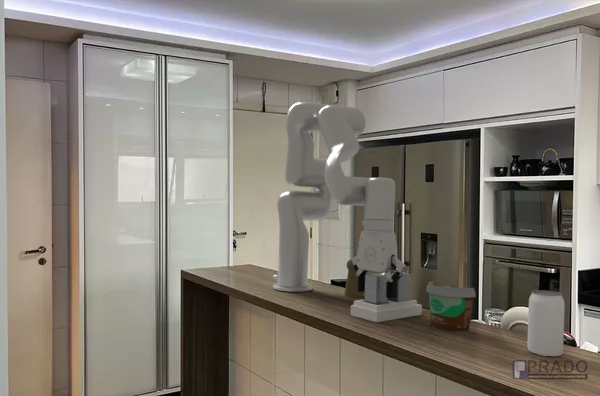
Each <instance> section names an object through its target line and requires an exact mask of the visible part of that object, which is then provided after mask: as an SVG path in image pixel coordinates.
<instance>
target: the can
mask: <svg viewBox="0 0 600 396" xmlns="http://www.w3.org/2000/svg"><path fill="white" fill-rule="evenodd" d="M527 315H528V317H527V320H528V322H527V343H526V344H527V351H528V352H529V353H530V354H533V353H535V354H540V355H546V356H559V357H561V356H562V355H563V354H564V333H565V331H564V330H565V300H564V298H563V294H562V293H561V292H558V291H553V290H543V289H542V290H540V289H539V290H537V289H535V290H531V294H530V296H529V298H528V314H527ZM535 354H534V355H535ZM560 355H561V356H560Z"/></svg>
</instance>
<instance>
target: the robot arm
mask: <svg viewBox="0 0 600 396" xmlns="http://www.w3.org/2000/svg"><path fill="white" fill-rule="evenodd" d="M285 120H286V121H285V123H286V124H285V125H286V128H285V129H286V133H287V135H286V136H287V149H286V150H287V151H286V161H285V175H284V177H285V180H286V181H285V182H286V183H287V185H289V186H292V187H299V188H312V190H311V191H309V190H307V191H305V190H288V191H285V192H282V193H281V194H280V195H279V196H278V198H277V205H276V206H277V212H278V213H277V214H278V219H279V221H278V222H279V236H278V237H279V241H278V242H279V245H278V267H277V268H278V271H277V272H278V273H276V274H274V275H273V277H272V278H273V279H274V280H276V283H273V285H272V289H274V290H276V291H281V292H290V293H291V292H292V293H293V292H294V293H298V292H300V293H301V292H303V293H304V292H308V291H311V290H312V289H313V285H311V284H309V283H308V279H309V277H308V276H309V275H308V273H309V249H310V248H309V247H310V246H309V245H310V235H309V230H308V228H307V226H306V225H305V223H304V221H323V220H325V219H326V218H328V215H329V213H330V210H331V202H332V200H333V201H334V202H335V203H336V204H338V205H341V206H358V207H359V206H360V207H364V213H363V214H364V215H363V221H362V226H363V230H362V231H361V232H360V236H359V240H358V247H357V254H356V255H355V256H353V257H352V258H351V260H352V262H353V265H354V269H355V271H356V275H357V276H358V292H364V293H365V274H369V272H372V273H375V274H376V273H377V274H384V275H386V277H387V279H388V280H389V281H388V282H387V283H386V298H395V297H396V296H397V281H399V280H400V278H401V277H402V276H403V273H405V270H406V268H407V266H406V264H405V263H404V262H402V261H401V260H400V258H398V243H397V237H396V232H394V231H395V210H396V209H395V208H396V205H395V204H396V181H395V180H394V179H393V178H390V177H363V176H348V175H347V176H346V175H345V173H344V171H343V169H342V165H341V164H342V163H344V162H346V161H349V160H350V159H352V158H354V156H356V155H357V153H358V152H359V149H360V143H359V140H358V138H357V137H358V136H360V135H362V134H363V132H364V131H365V128H366V122H367V120H366V117H365V115H364V113H363V112H362V110H360V109H359V108H357V107H352V106H346V105H338V104H323V103H318V102H308V101H300V102H299V101H298V102H295V103H294V104H293V105H291V106H290V108H289V109H288V111H287V115H286V119H285ZM309 131H314V132H320V133H321V134H322V137H323V139H324V141H325V145H326V147H327V150H328V152H329V155H328V158H327V159H323V158H314V157H315V156H314V152H315V141H314V139H313V137H312V136H313V135H311V133H310V132H309ZM391 274H392V275H391Z"/></svg>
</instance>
